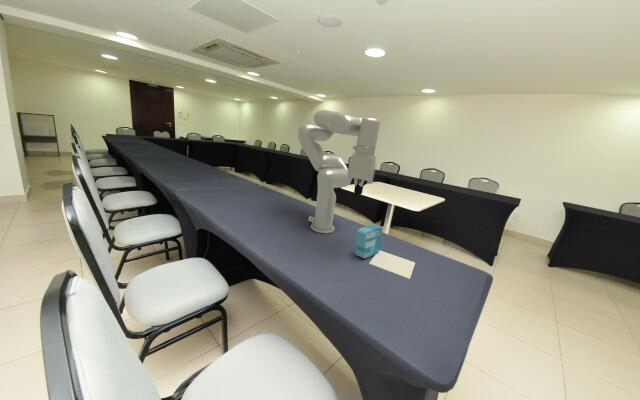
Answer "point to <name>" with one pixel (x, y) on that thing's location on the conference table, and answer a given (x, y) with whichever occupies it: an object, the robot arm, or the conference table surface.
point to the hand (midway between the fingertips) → (357, 194)
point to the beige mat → (393, 264)
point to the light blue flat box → (368, 241)
